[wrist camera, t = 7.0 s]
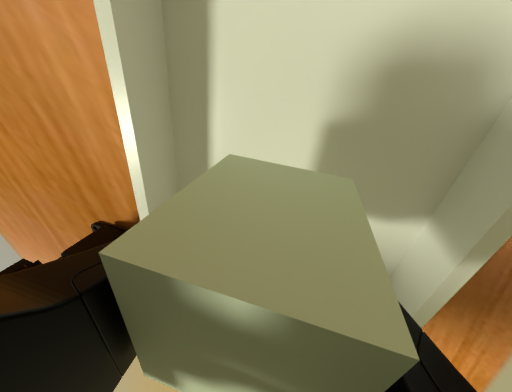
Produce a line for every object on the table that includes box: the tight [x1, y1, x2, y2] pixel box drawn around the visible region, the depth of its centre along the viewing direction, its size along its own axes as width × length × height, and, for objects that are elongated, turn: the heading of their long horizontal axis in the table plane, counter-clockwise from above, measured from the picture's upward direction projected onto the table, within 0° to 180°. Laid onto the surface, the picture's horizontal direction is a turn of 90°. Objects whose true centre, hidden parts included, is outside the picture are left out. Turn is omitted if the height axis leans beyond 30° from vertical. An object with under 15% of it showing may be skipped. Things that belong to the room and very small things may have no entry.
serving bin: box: [93, 0, 512, 328], centre depth 12 cm, size 22×18×4 cm
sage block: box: [99, 154, 420, 392], centre depth 7 cm, size 5×5×6 cm
